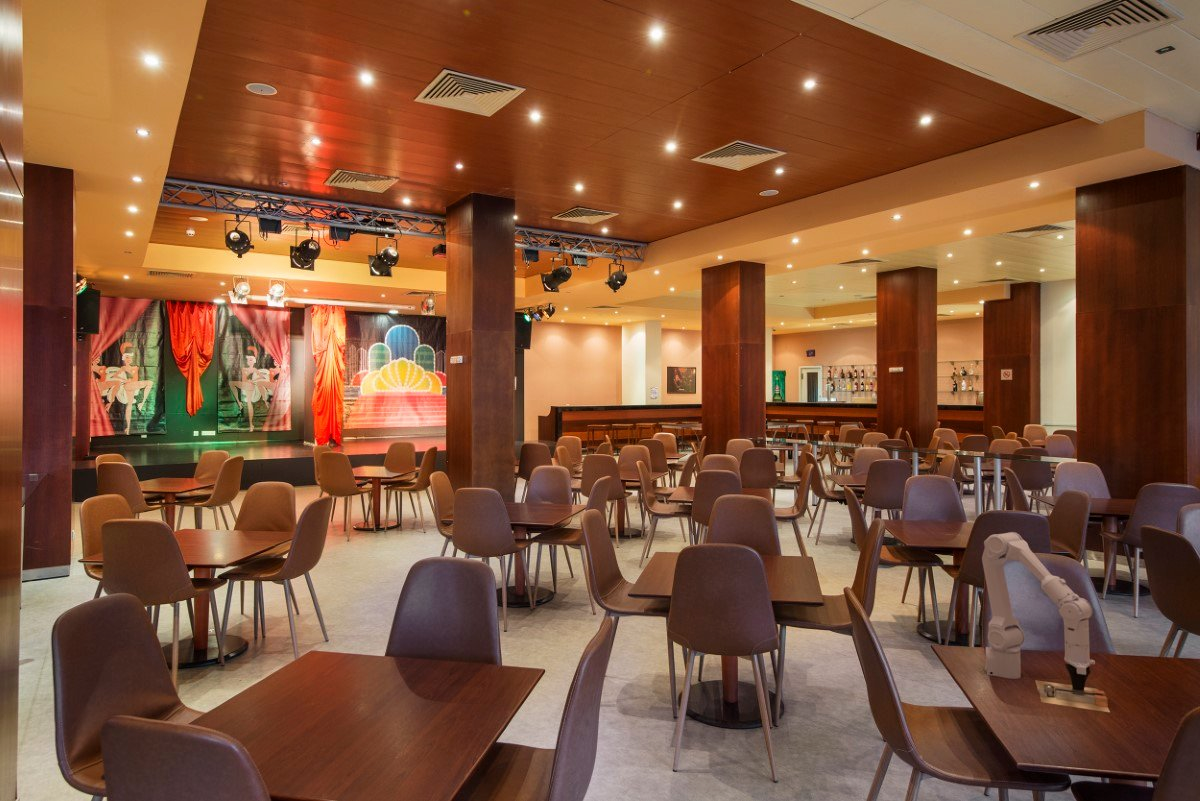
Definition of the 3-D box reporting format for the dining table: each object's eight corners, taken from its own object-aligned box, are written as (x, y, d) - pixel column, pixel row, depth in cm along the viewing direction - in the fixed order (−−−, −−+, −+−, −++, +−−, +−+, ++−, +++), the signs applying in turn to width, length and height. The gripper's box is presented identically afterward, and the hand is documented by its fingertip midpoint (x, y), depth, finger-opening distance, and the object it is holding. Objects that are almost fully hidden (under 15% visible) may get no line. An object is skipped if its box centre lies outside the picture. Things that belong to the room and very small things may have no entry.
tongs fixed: (1040, 697, 194) (1039, 687, 194) (1038, 691, 198) (1038, 681, 198) (1107, 707, 187) (1107, 696, 187) (1104, 701, 191) (1104, 691, 191)
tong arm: (1055, 695, 195) (1055, 687, 195) (1054, 692, 197) (1054, 684, 197) (1105, 702, 190) (1105, 693, 190) (1103, 699, 192) (1103, 691, 192)
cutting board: (1041, 706, 191) (1041, 701, 191) (1035, 684, 207) (1035, 680, 207) (1110, 716, 184) (1110, 712, 184) (1098, 693, 200) (1097, 688, 200)
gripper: (1099, 652, 187) (1100, 704, 186) (1089, 637, 200) (1091, 685, 199) (1067, 649, 190) (1069, 699, 189) (1060, 634, 203) (1061, 681, 202)
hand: (1078, 692), depth 195 cm, fingers closed
